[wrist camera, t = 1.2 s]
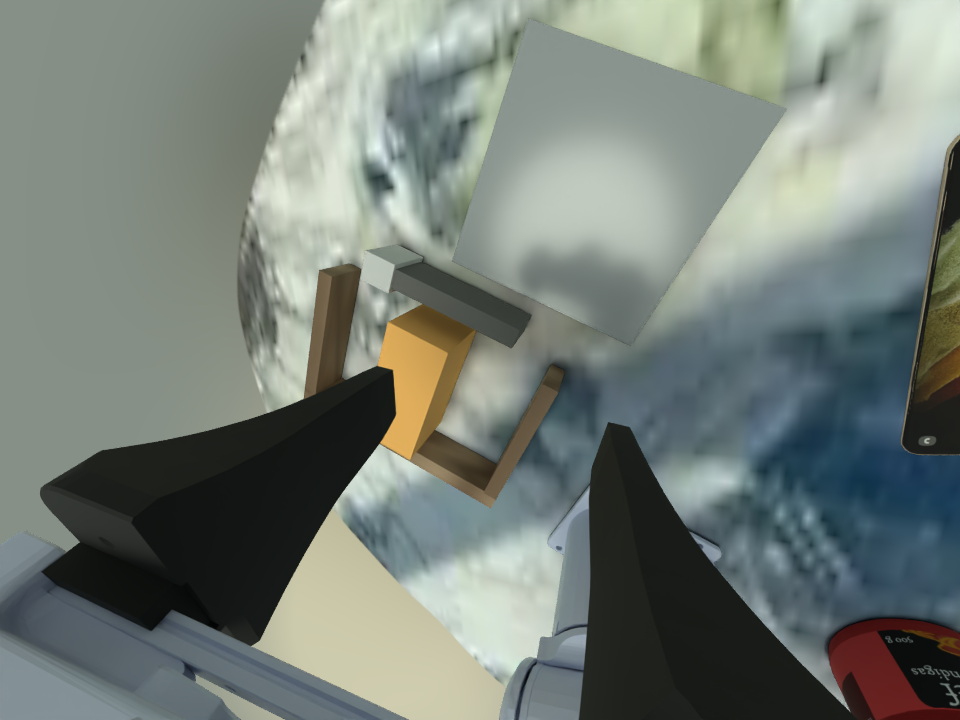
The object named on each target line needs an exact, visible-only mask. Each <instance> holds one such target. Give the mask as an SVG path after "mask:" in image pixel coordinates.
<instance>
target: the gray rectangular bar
mask: <svg viewBox="0 0 960 720" xmlns="http://www.w3.org/2000/svg"><path fill="white" fill-rule="evenodd" d="M422 260H423V257H422V256H420V255H418V254H416V253H413V252H411V251H409V250H407V249H405V248H403V247H401V246H399V245H393V246H388V247H382V248H377V249H371V250H366V251H365V256H364V261H363V267H362V272H361V278H360V279H361V280H363V281H365V282H367V283H369V284H371V285H373V286H375V287H377V288H379V289H381V290H383V291H385V292H387V293H390V292H393V291H398V292H400V293H402V294H404V295H406V296H408V297H410V298H412V299H414V300H416V301H418V302H420V303H422V304H424V305H426V306H428V307H430V308H432V309H434V310H436V311H438V312H440V313H442V314H444V315H446V316H448V317H450V318H452V319H454V320H456V321H458V322H460V323H462V324H464V325H466V326H468V327H470V328H472V329H474V330H476V331H478V332H480V333H482V334H484V335H486V336H488V337H490V338H492V339H494V340H496V341H498V342H500V343H502V344H504V345H506V346H508V347H510V348H512V347H513V346H514V344H515V343H516V341H517V340H518V339H519V337H520V336H521V335H522V333H523V332H524V330H525V328H526V326H527V323H528V321H529V319H530V317H531V315H530V314H528V313H526V312H523V311H521V310H519V309H517V308H515V307H513V306H511V305H509V304H507V303H505V302H503V301H501V300H499V299H496V298H494V297H492V296H490V295H488V294H486V293H484V292H482V291H480V290H478V289H476V288H474V287H472V286H469V285H467V284H465V283H463V282H461V281H459V280H457V279H455V278H453V277H451V276H449V275H447V274H445V273H442V272H440V271H438V270H436V269H434V268H432V267H430V266H428V265H426V264H424V263H422Z"/></svg>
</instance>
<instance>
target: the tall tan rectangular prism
mask: <svg viewBox="0 0 960 720" xmlns="http://www.w3.org/2000/svg"><path fill="white" fill-rule="evenodd" d="M475 333H476V330H474V329H472V328H470V327H468V326H466V325H464V324H462V323H460V322H458V321H456V320H454V319H452V318H450V317H448V316H446V315H444V314H442V313H440V312H438V311H436V310H434V309H432V308H430V307H428V306H426V305H424V304H422V305H420V306H418V307H416V308H414V309H412V310H410V311H409V312H407V313H405V314H403V315H401V316H399V317H397V318H395V319H393V320H391V321H389V322H388V325H387V329H386V333H385V337H384V341H383V345H382V349H381V353H380V358H379V362H378V366H380V367H384V368H388V369H392V370H393V374H394V388H395V402H396V417H395V419H394V420H393V422H392V424H391V426H390V428H389V429H388V431H387V433H386V435H385V436H384V438H383V440H382V441H381V442H380V443H381V444H383V445H385V446H386V447H388V448H390V449H392V450H393V451H395V452H397V453H398V454H400V455H402V456H404V457H405V458H407V459H409V460H411V458H412V457H413V456H414V455H415V453H416V452H417V451H418V450H419V448H420V447H421V446H422V445H423V443H424V442H425V441H426V440H427V439H428V437H429V436H430V435H431V434H432V432H433V431H434V430H435V429H436V427H437V426H438V425H439V424H440V422H441V420H442V418H443V415H444V412H445V410H446V407H447V405H448V402H449V400H450V397H451V394H452V392H453V389H454V387H455V384H456V382H457V379H458V377H459V374H460V371H461V369H462V366H463V364H464V361H465V359H466V356H467V353H468V351H469V348H470V346H471V343H472V341H473V338H474V335H475Z"/></svg>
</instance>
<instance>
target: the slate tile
mask: <svg viewBox="0 0 960 720" xmlns="http://www.w3.org/2000/svg"><path fill="white" fill-rule="evenodd" d="M785 111H786V108H783V107H781V106H778V105H775V104H772V103H769V102H766V101H763V100H761V99H758V98H755V97H752V96H749V95H746V94H743V93H740V92H738V91H735V90H732V89H729V88H726V87H723V86H720V85H717V84H715V83H712V82H709V81H706V80H703V79H700V78H697V77H695V76H692V75H689V74H686V73H683V72H680V71H677V70H674V69H672V68H669V67H666V66H663V65H660V64H657V63H654V62H651V61H649V60H646V59H643V58H640V57H637V56H634V55H631V54H629V53H626V52H623V51H620V50H617V49H614V48H611V47H608V46H606V45H603V44H600V43H597V42H594V41H591V40H588V39H585V38H583V37H580V36H577V35H574V34H571V33H568V32H565V31H563V30H560V29H557V28H554V27H551V26H548V25H545V24H542V23H540V22H537V21H534V20H531V19H528V21H527V24H526V28H525V31H524V34H523V37H522V40H521V43H520V47H519V50H518V53H517V56H516V59H515V63H514V66H513V69H512V72H511V75H510V78H509V82H508V85H507V88H506V91H505V94H504V98H503V101H502V104H501V107H500V110H499V113H498V117H497V120H496V123H495V126H494V129H493V133H492V136H491V139H490V142H489V145H488V148H487V152H486V155H485V158H484V161H483V164H482V168H481V171H480V174H479V177H478V180H477V183H476V187H475V190H474V193H473V196H472V199H471V203H470V206H469V209H468V212H467V215H466V218H465V222H464V225H463V228H462V231H461V234H460V238H459V241H458V244H457V247H456V250H455V253H454V257H453V260H452V262H454V263H456V264H459V265H461V266H463V267H465V268H467V269H469V270H471V271H473V272H475V273H478V274H480V275H482V276H484V277H486V278H488V279H490V280H492V281H494V282H497V283H499V284H501V285H503V286H505V287H507V288H509V289H511V290H513V291H516V292H518V293H520V294H522V295H524V296H526V297H528V298H530V299H532V300H535V301H537V302H539V303H541V304H543V305H545V306H547V307H549V308H551V309H554V310H556V311H558V312H560V313H562V314H564V315H566V316H568V317H570V318H572V319H575V320H577V321H579V322H581V323H583V324H585V325H587V326H589V327H591V328H594V329H596V330H598V331H600V332H602V333H604V334H606V335H608V336H610V337H613V338H615V339H617V340H619V341H621V342H623V343H625V344H627V345H629V346H631V345H632V343H633V341H634V340H635V338H636V337H637V335H638V334H639V332H640V331H641V329H642V328H643V326H644V325H645V323H646V322H647V320H648V319H649V317H650V316H651V314H652V313H653V311H654V310H655V308H656V307H657V305H658V304H659V302H660V301H661V299H662V297H663V296H664V294H665V293H666V291H667V290H668V288H669V287H670V285H671V284H672V282H673V281H674V279H675V278H676V276H677V275H678V273H679V272H680V270H681V269H682V267H683V266H684V264H685V263H686V261H687V260H688V258H689V257H690V255H691V254H692V252H693V250H694V249H695V247H696V246H697V244H698V243H699V241H700V240H701V238H702V237H703V235H704V234H705V232H706V231H707V229H708V228H709V226H710V225H711V223H712V222H713V220H714V219H715V217H716V216H717V214H718V213H719V211H720V210H721V208H722V206H723V205H724V203H725V202H726V200H727V199H728V197H729V196H730V194H731V193H732V191H733V190H734V188H735V187H736V185H737V184H738V182H739V181H740V179H741V178H742V176H743V175H744V173H745V172H746V170H747V169H748V167H749V166H750V164H751V163H752V161H753V159H754V158H755V156H756V155H757V153H758V152H759V150H760V149H761V147H762V146H763V144H764V143H765V141H766V140H767V138H768V137H769V135H770V134H771V132H772V131H773V129H774V128H775V126H776V125H777V123H778V122H779V120H780V119H781V117H782V116H783V114H784V112H785Z"/></svg>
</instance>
